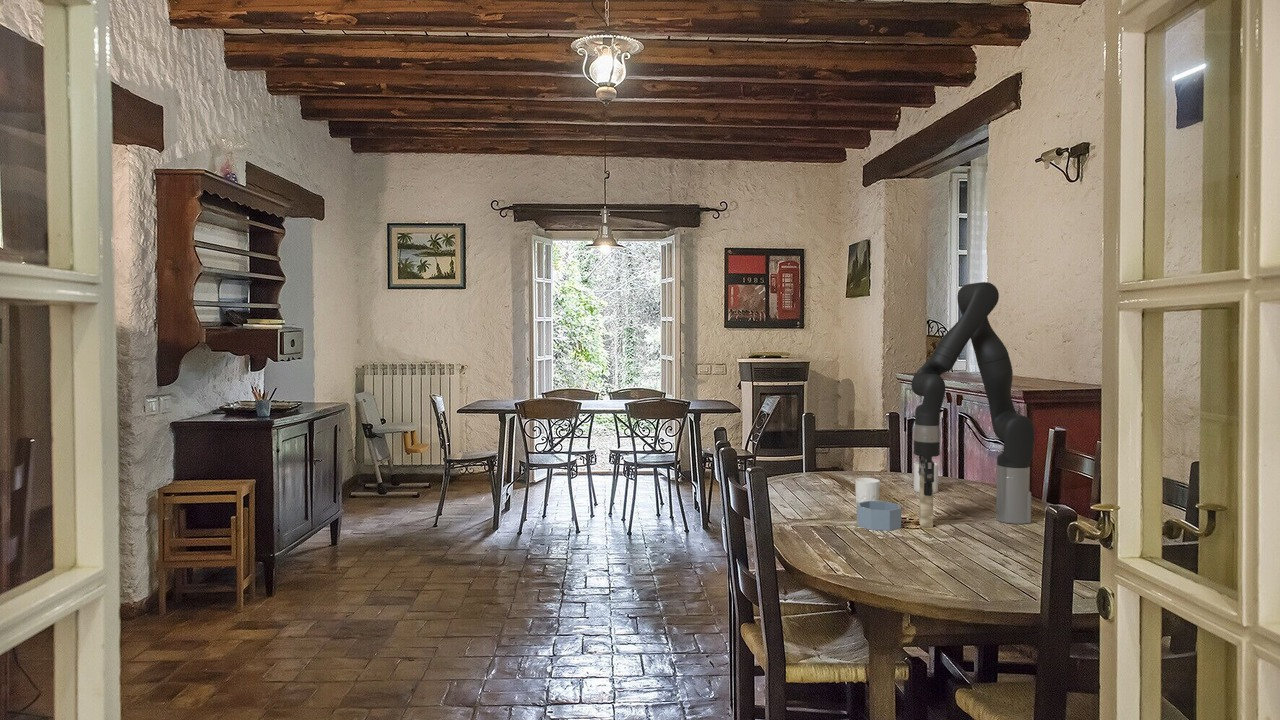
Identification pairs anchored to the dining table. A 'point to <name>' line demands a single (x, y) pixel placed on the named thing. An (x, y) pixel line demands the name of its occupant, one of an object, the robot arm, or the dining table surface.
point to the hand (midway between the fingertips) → (925, 492)
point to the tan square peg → (925, 506)
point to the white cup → (867, 489)
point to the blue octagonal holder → (879, 515)
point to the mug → (917, 478)
